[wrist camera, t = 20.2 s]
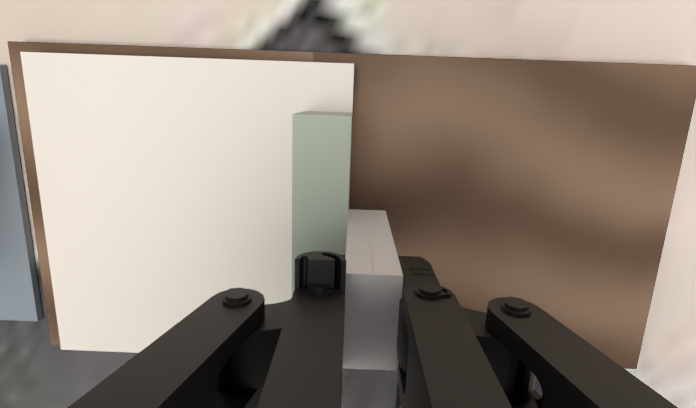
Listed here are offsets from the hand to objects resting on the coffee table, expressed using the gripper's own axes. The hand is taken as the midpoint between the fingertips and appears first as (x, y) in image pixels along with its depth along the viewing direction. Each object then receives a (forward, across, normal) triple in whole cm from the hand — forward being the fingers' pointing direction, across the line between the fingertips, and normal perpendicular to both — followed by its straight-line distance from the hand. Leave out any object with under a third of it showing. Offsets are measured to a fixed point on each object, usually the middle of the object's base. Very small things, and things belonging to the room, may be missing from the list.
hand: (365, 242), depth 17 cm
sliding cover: (+3, +8, 0) cm, 8 cm away
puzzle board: (+4, +1, 0) cm, 4 cm away
